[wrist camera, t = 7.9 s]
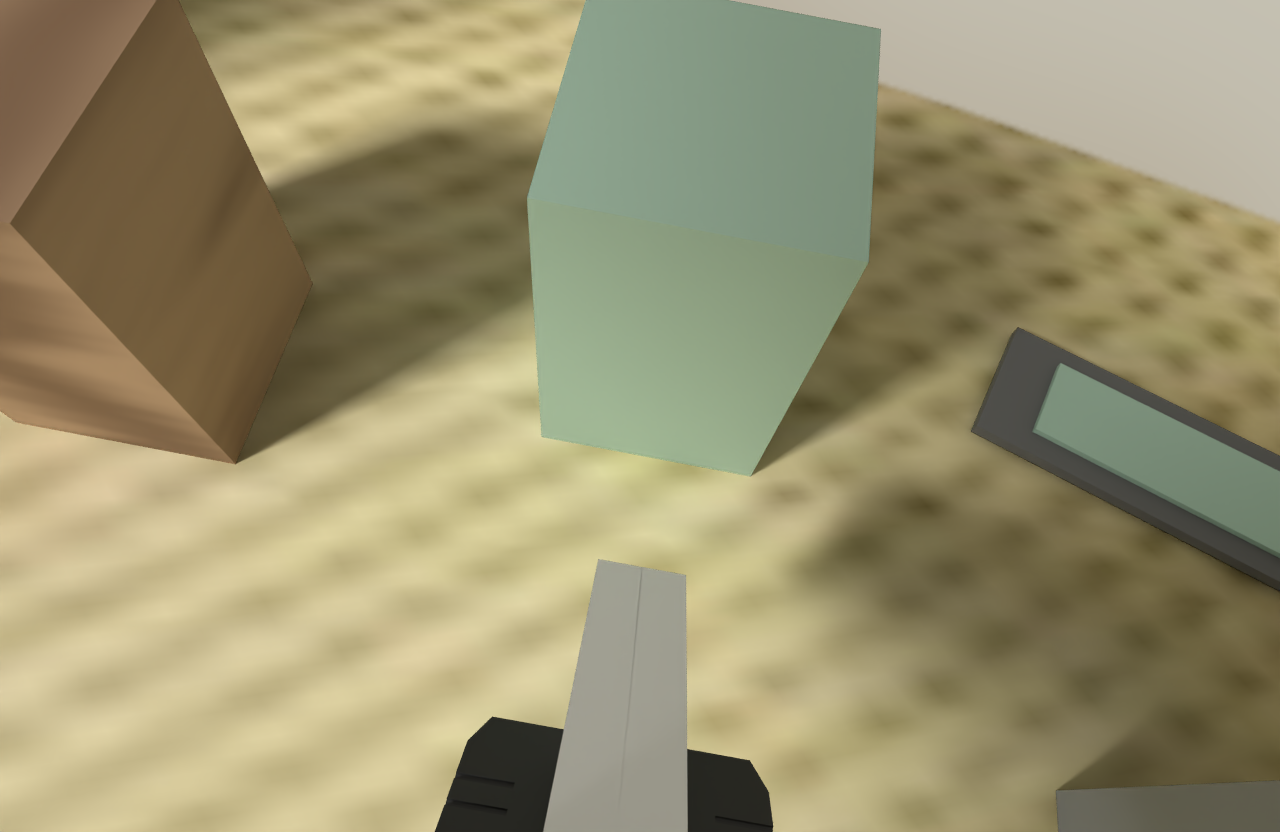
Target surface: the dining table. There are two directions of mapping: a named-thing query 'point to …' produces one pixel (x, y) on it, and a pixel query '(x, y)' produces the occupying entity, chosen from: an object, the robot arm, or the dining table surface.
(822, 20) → the sage block
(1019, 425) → the card
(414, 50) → the dining table surface
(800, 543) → the dining table surface
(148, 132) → the walnut block
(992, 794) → the dining table surface
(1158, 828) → the charcoal block
